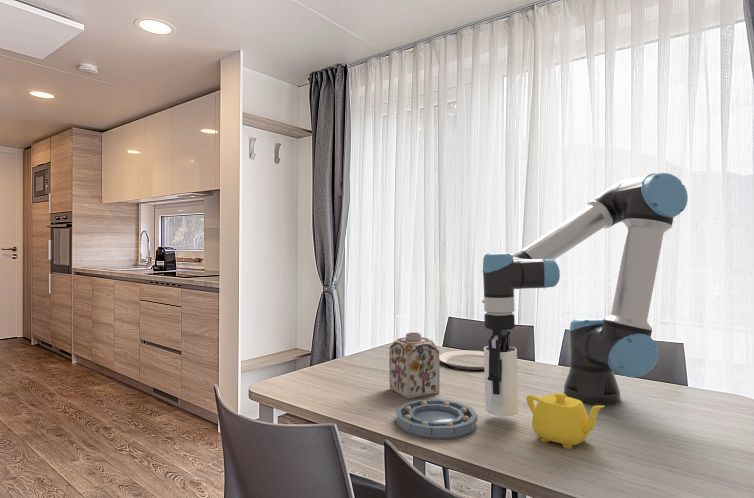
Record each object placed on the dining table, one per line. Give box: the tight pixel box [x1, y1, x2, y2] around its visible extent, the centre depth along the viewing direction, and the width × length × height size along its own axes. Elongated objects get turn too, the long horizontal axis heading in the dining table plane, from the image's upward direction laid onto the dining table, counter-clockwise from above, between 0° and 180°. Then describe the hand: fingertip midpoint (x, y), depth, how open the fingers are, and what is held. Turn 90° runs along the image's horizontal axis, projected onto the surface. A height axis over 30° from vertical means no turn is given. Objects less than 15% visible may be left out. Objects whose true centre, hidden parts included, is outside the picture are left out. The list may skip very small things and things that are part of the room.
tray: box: [395, 398, 478, 440], centre depth 118 cm, size 20×20×3 cm
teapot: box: [526, 392, 606, 450], centre depth 107 cm, size 18×11×11 cm, turn 46°
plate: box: [439, 349, 484, 371], centre depth 178 cm, size 26×26×2 cm
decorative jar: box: [388, 332, 441, 400], centre depth 143 cm, size 12×12×18 cm
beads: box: [404, 401, 469, 426], centre depth 118 cm, size 17×17×2 cm
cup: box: [483, 345, 519, 417], centre depth 119 cm, size 8×8×16 cm
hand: (501, 400), depth 119 cm, fingers closed on cup, 8 cm apart
